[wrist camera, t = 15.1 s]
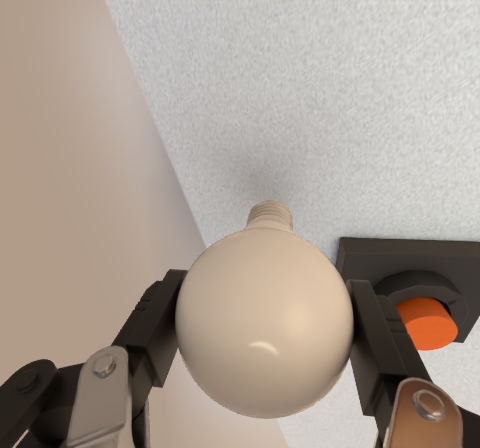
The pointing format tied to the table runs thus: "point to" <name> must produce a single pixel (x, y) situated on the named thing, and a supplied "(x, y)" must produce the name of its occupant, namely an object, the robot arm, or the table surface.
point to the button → (427, 323)
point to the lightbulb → (264, 319)
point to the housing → (418, 273)
